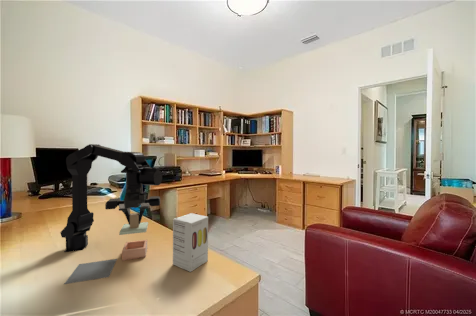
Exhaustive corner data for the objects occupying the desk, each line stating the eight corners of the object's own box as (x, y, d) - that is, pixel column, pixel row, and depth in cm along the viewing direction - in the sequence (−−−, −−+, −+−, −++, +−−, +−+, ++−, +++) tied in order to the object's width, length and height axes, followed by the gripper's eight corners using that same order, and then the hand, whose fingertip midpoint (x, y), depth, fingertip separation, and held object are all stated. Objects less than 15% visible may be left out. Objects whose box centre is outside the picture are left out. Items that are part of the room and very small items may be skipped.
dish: (122, 261, 78) (121, 251, 78) (125, 251, 86) (125, 242, 86) (145, 258, 81) (145, 247, 81) (147, 249, 88) (147, 239, 88)
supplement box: (190, 272, 71) (190, 223, 71) (171, 264, 76) (171, 218, 76) (208, 260, 80) (208, 216, 79) (190, 254, 84) (190, 212, 84)
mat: (63, 285, 64) (63, 284, 64) (79, 265, 76) (79, 264, 76) (109, 278, 68) (109, 276, 68) (117, 259, 79) (117, 258, 79)
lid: (124, 226, 86) (123, 211, 85) (148, 224, 88) (148, 210, 88) (119, 235, 77) (119, 218, 77) (146, 232, 80) (146, 216, 80)
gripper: (100, 189, 72) (101, 234, 72) (159, 186, 78) (159, 228, 78) (109, 184, 82) (109, 224, 83) (160, 182, 88) (160, 219, 89)
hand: (134, 224), depth 83 cm, fingers closed on lid, 3 cm apart
